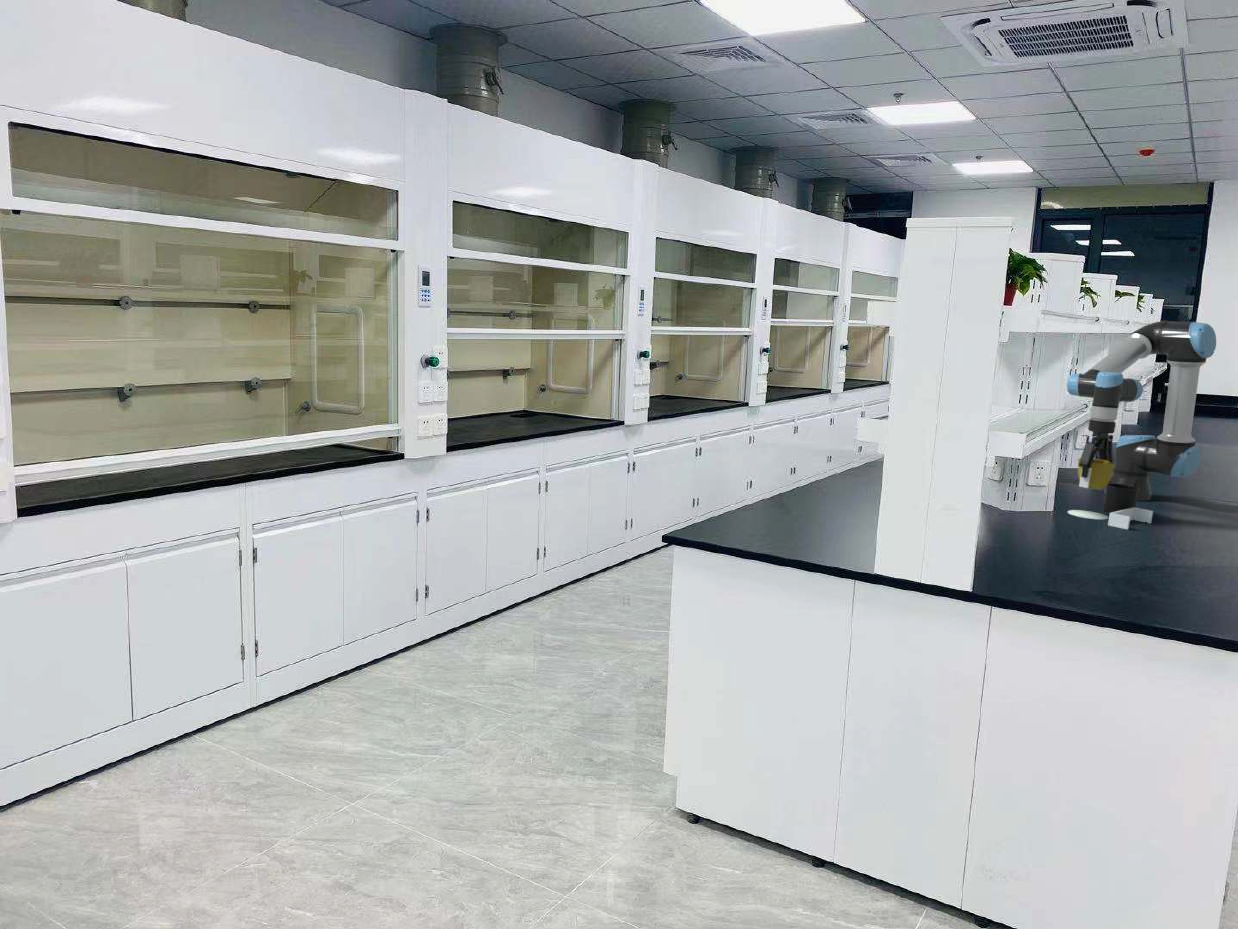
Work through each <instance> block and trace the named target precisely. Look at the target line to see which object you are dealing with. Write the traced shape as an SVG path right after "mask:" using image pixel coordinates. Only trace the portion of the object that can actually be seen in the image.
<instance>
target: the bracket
mask: <svg viewBox="0 0 1238 929" xmlns="http://www.w3.org/2000/svg"><path fill="white" fill-rule="evenodd" d="M1153 515H1154V511H1153V510H1149V509H1144V508H1139V507H1136V508H1135V507H1133V508H1129V509H1124V510H1120V511H1116V512H1111V513H1109V516H1108V517H1109V518H1108V522H1107V526H1109V527H1115V528H1119V529H1124V530H1129V529H1130V522H1131V521H1137V522H1142V523H1145V522H1147V524H1152V521H1153V520H1152V519H1153Z"/></svg>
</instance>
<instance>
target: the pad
mask: <svg viewBox="0 0 1238 929" xmlns="http://www.w3.org/2000/svg"><path fill="white" fill-rule="evenodd" d="M1067 514H1069V515H1071V516H1074V517H1077V518H1083V519H1089V520H1101V521H1103V520H1109V516H1108V515H1106V514H1103V513H1100V512H1096V511H1095V512H1094V511H1091V510H1090V511H1089V510H1080V509H1071V510H1067Z"/></svg>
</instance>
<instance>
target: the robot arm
mask: <svg viewBox="0 0 1238 929" xmlns="http://www.w3.org/2000/svg"><path fill="white" fill-rule="evenodd" d="M1216 348H1217V336H1216V331H1215V329H1214V328H1213V327H1212V326H1211V325H1210V324H1208V323H1206V322H1199V321H1198V322H1197V321H1173V320H1172V321H1171V320H1160V321H1155V322H1152V323H1150V324H1146V325H1145V326H1142V327H1140V328H1137V329H1136V330H1134V331H1133V332H1132V333H1130V334H1129V335H1128V336H1126V338H1125V339H1124V341H1123V343H1122V344H1121V345H1119V346H1118V347H1116V348H1115V349H1113V351H1111V352H1110V353H1109V354H1107V355H1106V356H1105V357H1104V358H1102V359H1101V360H1100V361H1098V362H1096V364H1095V365H1094V366H1092V367H1091V368H1089V369H1088V370H1086V372H1084V373H1080V372H1079V373H1072V374H1071V375H1070V376H1069V377H1068V378H1067V381H1066V391H1067V392H1068V394H1069V395H1071V396H1076V397H1077V396H1078V397H1083V398H1091V399H1092V398H1093V400H1092V402H1091V403H1092V404H1091V408H1090V418H1091V419H1090V420H1089V421H1088V422H1089V423H1088V431H1089V432H1092V435H1087V436H1086V439H1085V440H1086V441H1085V445H1084V447H1083V451H1082V453H1081V457H1080V458H1081V459H1080V462H1079V466H1080V467H1082V470H1081V477H1080V481H1079V484H1078V487H1080V488H1083V489H1087V488H1089V482H1090V476H1091V470H1092V468H1090V467H1091V465H1092V462H1093V460H1094V459H1095V458H1096V456H1097V453H1098V454H1099V460H1106V461H1108V462H1110V463H1112V464H1114V465H1115V466H1114V469H1113V472H1112V475H1111V478H1110V480H1109V482H1108V484H1123V485H1130V486H1134V487H1137V488H1138V489H1139V490H1138V496H1137V502H1138V501H1143V502H1146V501H1151V498H1152V490H1151V486H1150V480H1149V477H1150V473H1151V474H1152V473H1154V474H1159V475H1164V476H1170V477H1171V478H1182V479H1183V478H1185V479H1186V478H1189V477H1190V476H1191V475H1193V474H1194V473H1195V472H1196V470H1197V469H1198V466H1199V464H1200V461H1201V459H1202V451H1201V448H1200V447H1199V446H1197V445H1196V439H1195V438H1194V437H1193V436H1192V429H1193V424H1194V414H1195V407H1196V401H1197V400H1196V399H1197V394H1198V393H1197V392H1198V384H1199V376H1200V369H1201V367H1202V366H1203V365H1205V364H1206V362H1207V359H1209V358H1211V357H1212V356H1213V355H1214V353H1215V351H1216ZM1150 355H1163V356H1164V355H1166V362H1167V363H1168V364H1169V365H1170V370H1169V378H1168V387H1167V395H1166V403H1165V411H1164V418H1163V428H1162V433H1161V434H1159V435H1157V437H1156V436H1155V435H1148V434H1146V435H1145V434H1144V435H1143V434H1139V435H1138V434H1133V435H1132V434H1129V435H1128V434H1124V435H1121V436H1120V437H1119V438H1118V440H1117V443H1116V446H1115V456H1114V460H1113V455H1114V454H1113V439H1114V435H1113V434H1114V433H1115V430H1116V424H1117V423H1116V422H1115V421H1116V420H1117V418H1118V411H1119V405H1120V404H1119V403H1120V402H1121V403H1122V402H1126V403H1129V402H1135V401H1137V400H1139V399H1140V398H1141V396H1142V395H1143V392H1144V388H1143V385H1142V383H1141V382H1140V380H1138V379H1136V378H1135V379H1134V378H1129V377H1127V378H1124V375H1123V373H1124V371H1126V370H1128V369H1129V368H1130V367H1131V366H1132V365H1134V364H1135V363H1136V362H1138V360H1140V359H1145V358H1147V357H1148V356H1150ZM1113 461H1114V462H1113ZM1106 486H1107V485H1106ZM1106 486H1105V487H1104V489H1103V490H1104V491H1103V493H1104V495H1105V492H1106Z"/></svg>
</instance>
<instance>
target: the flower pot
mask: <svg viewBox="0 0 1238 929" xmlns="http://www.w3.org/2000/svg"><path fill="white" fill-rule="evenodd" d="M1080 459H1081V457H1078V458H1077V477H1078V480H1079V482H1080V477H1081V470H1082V467H1080V466H1079V462H1080ZM1114 466H1115V465H1114V463H1113V462H1112V463H1110V462H1108V461H1106V460H1100V459H1095V458H1094V460H1093V462H1092V465H1091V467H1090V468H1092V470H1091V476H1090V482H1089V488H1086V489H1087V490H1089V489H1091V490H1099V491H1102V490H1104V489H1105V487H1106V485H1107V484H1108V482H1109V480H1110V478H1111V476H1112V474H1113V469H1114Z"/></svg>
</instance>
